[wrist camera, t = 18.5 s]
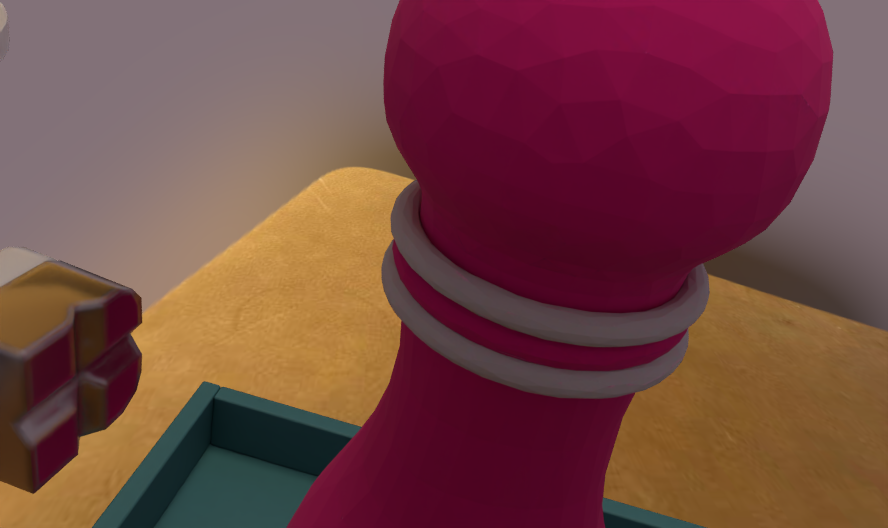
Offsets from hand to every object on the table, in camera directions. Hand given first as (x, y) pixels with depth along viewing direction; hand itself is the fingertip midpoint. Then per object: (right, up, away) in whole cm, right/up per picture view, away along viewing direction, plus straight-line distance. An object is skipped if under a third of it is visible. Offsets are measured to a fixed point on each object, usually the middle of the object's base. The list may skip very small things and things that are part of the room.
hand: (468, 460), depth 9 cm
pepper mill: (-1, -9, +11) cm, 14 cm away
